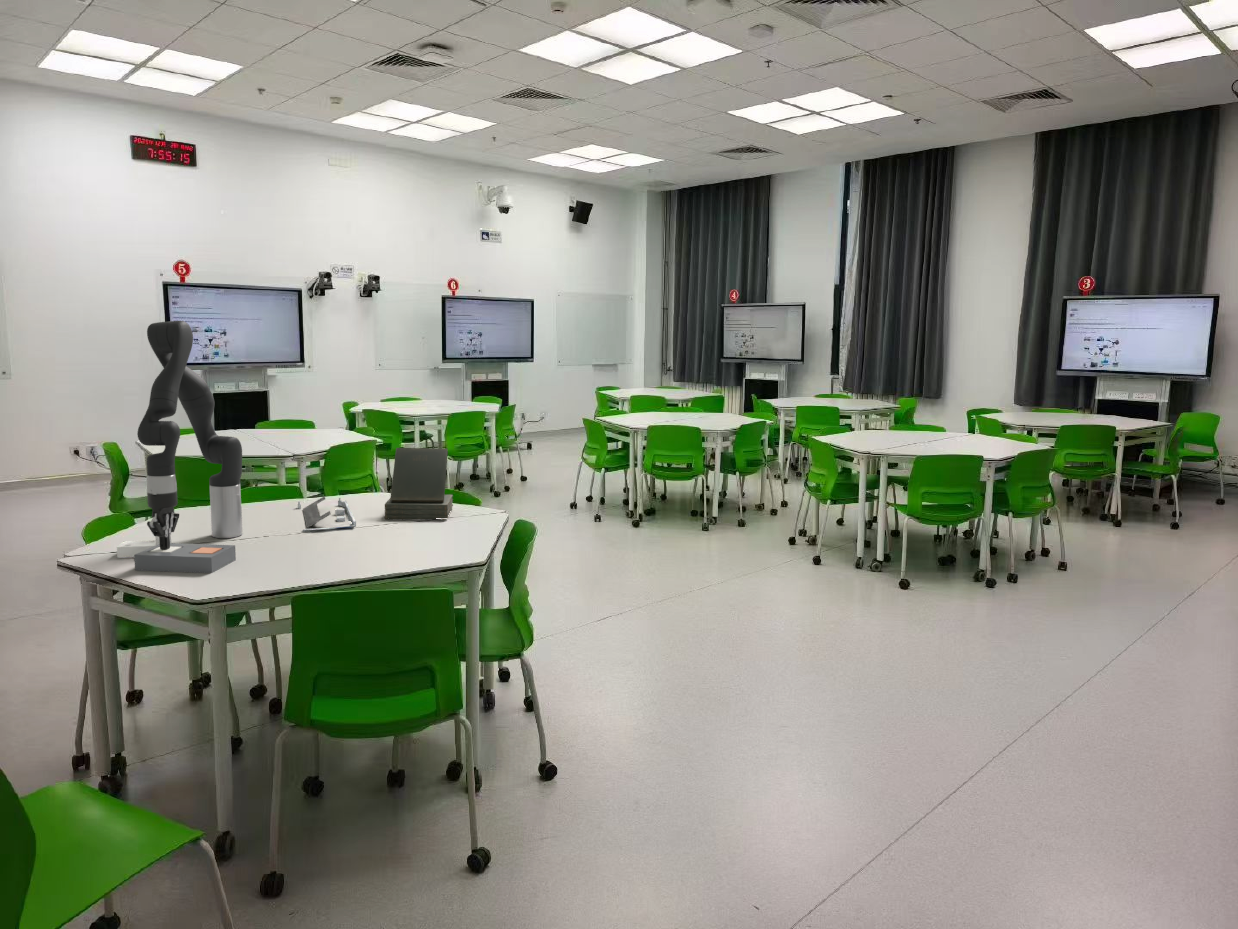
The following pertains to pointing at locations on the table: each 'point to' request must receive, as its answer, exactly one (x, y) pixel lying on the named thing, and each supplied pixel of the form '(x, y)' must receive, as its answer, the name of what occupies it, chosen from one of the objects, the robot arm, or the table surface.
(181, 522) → the table surface
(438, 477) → the upright slab on base
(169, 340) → the robot arm
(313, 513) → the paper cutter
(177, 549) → the off-white key
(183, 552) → the key panel
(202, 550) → the terracotta key
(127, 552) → the bracket
